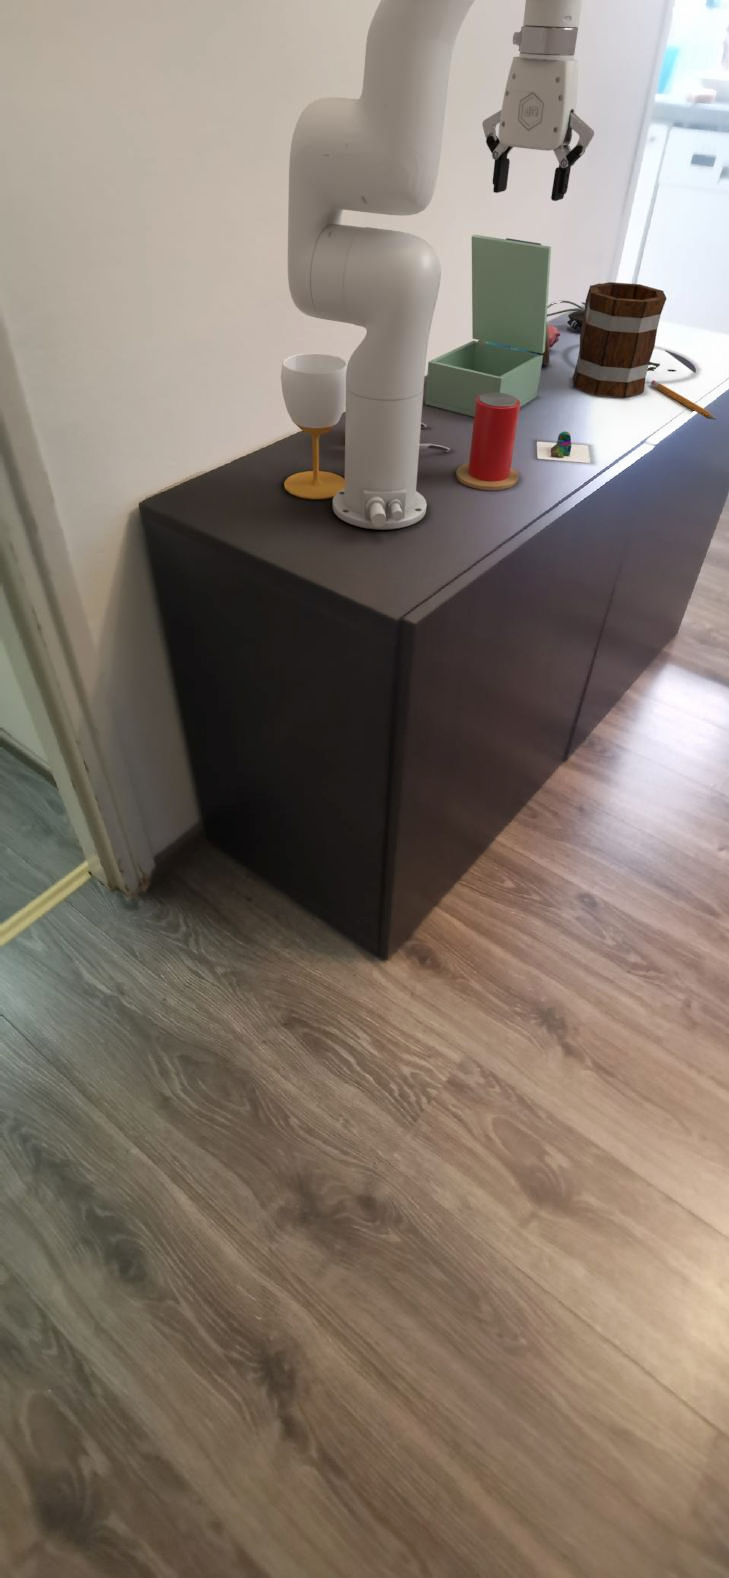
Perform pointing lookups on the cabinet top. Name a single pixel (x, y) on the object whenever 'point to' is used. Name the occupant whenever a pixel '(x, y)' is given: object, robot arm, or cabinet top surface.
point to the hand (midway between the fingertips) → (528, 195)
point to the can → (493, 436)
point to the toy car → (576, 319)
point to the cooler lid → (510, 292)
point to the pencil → (683, 400)
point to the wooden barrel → (617, 338)
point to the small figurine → (563, 450)
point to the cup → (314, 414)
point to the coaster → (485, 485)
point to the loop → (567, 309)
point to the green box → (481, 376)
